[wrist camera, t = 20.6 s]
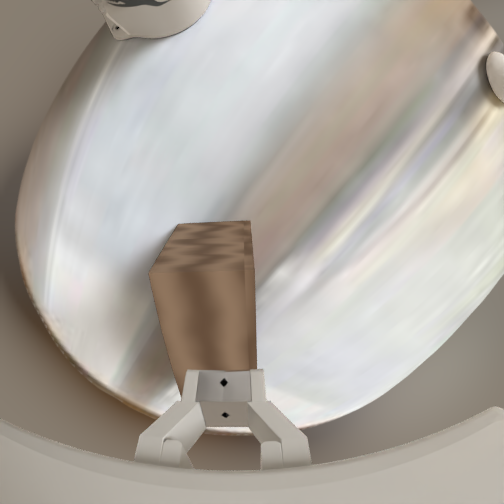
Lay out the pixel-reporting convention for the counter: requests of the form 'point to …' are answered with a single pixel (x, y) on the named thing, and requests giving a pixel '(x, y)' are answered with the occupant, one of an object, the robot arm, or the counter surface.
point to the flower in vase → (496, 73)
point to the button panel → (207, 297)
